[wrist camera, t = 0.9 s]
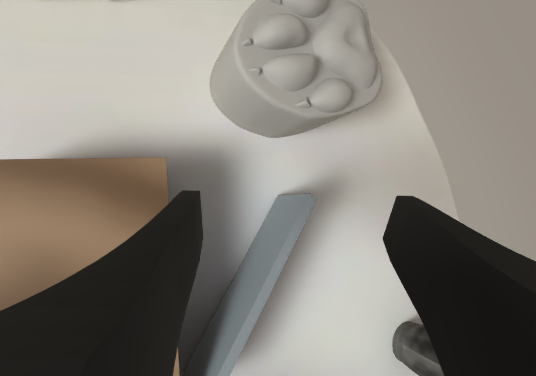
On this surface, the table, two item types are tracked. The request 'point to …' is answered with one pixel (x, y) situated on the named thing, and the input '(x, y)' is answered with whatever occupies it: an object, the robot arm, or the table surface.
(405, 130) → the table surface
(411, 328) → the beverage cup
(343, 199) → the table surface
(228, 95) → the grey paw shaped block
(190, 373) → the cabinet door
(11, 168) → the walnut cabinet
